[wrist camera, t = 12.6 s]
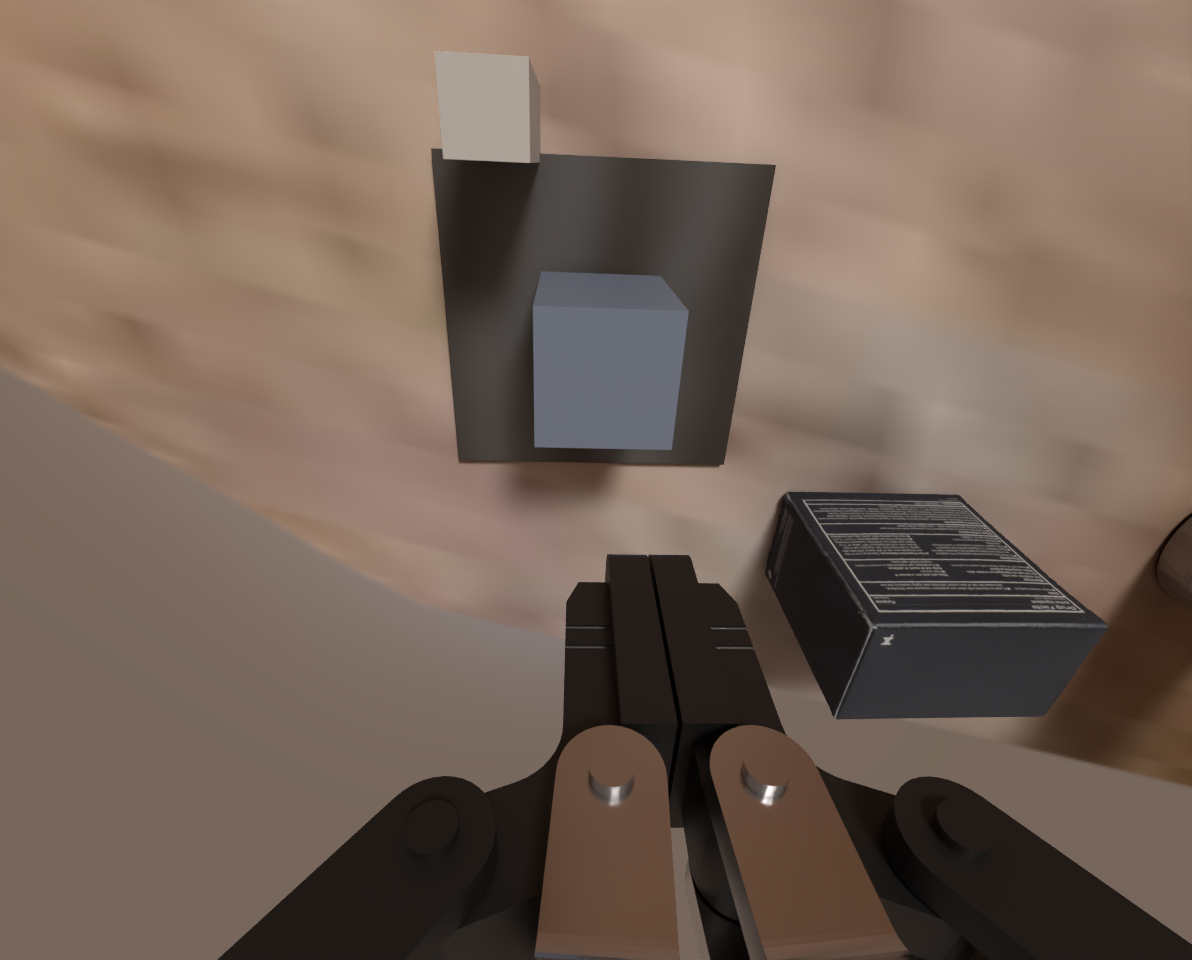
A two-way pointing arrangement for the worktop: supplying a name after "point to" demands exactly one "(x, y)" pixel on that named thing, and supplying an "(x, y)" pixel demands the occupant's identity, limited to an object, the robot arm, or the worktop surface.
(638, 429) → the blue-grey block
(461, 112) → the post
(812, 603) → the small box
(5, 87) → the worktop surface
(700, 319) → the dark grey square tray
